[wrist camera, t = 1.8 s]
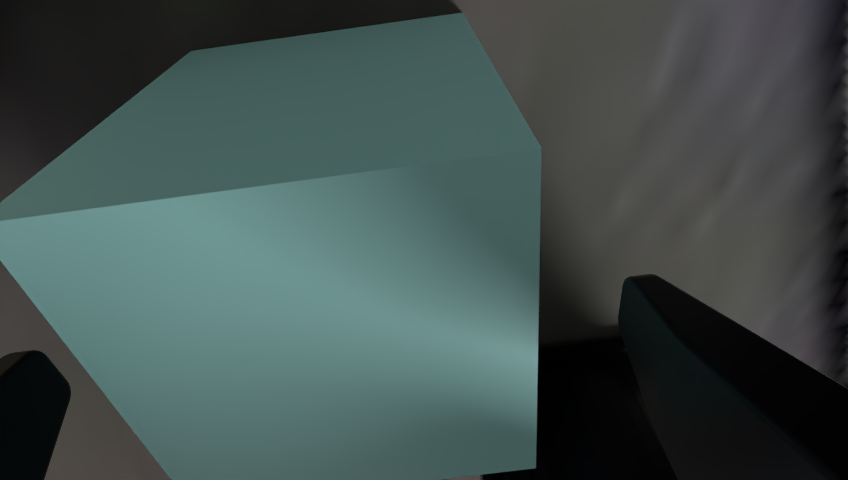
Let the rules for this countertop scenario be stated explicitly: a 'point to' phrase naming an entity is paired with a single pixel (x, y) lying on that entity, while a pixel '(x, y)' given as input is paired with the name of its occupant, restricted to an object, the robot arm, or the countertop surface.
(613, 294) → the countertop surface
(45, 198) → the turquoise block
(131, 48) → the countertop surface
